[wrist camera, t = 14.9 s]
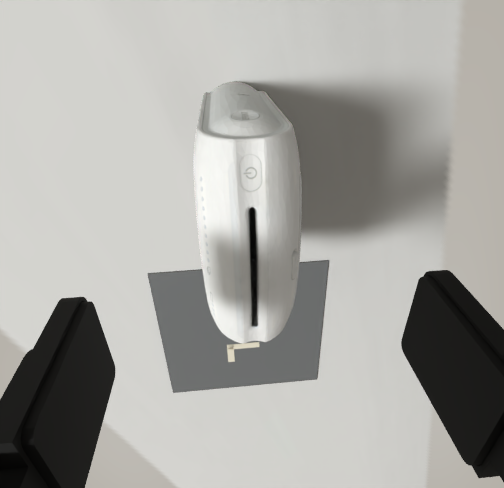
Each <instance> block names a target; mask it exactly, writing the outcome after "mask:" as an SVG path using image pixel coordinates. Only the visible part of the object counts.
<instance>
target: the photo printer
mask: <svg viewBox="0 0 504 488" xmlns="http://www.w3.org/2000/svg"><path fill="white" fill-rule="evenodd" d="M193 168H194V188H195V204H196V217H197V227H198V237H199V247H200V255H201V263H202V270H203V277H204V284H205V290H206V295H207V301H208V305H209V308H210V311H211V314H212V317H213V319H214V321H215V323H216V325H217V326H218V328H219V330H220V331H221V332H222V333H223V334H224V335H225V336H226V337H228V338H230V339H231V340H233V341H236V342H238V343H242V344H243V343H247V342H250V341H262V342H268V341H270V340H272V339H273V338H275V337H276V336H277V335H278V334H280V332H281V331H282V330H283V328H284V327H285V324H286V322H287V320H288V318H289V316H290V313H291V310H292V308H293V305H294V301H295V295H296V288H297V280H298V271H299V260H300V244H301V221H302V179H301V172H300V158H299V151H298V144H297V140H296V136H295V131H294V127H293V125H292V123H291V122H290V121H289V120H288V119H287V118H286V116H285V115H284V114H283V113H282V112H281V110H280V109H279V108H278V107H277V106H276V104H275V103H274V102H273V101H272V100H271V98H270V97H269V96H268V95H267V93H266V92H265V91H256V90H255V89H254V88H253V87H251V86H250V85H247V84H245V83H241V82H228V83H224V84H222V85H220V86H218V87H217V88H215V89H214V90H213V91H212V92H211V93H207V92H206V93H204V95H203V98H202V103H201V108H200V113H199V118H198V124H197V130H196V136H195V145H194V157H193Z"/></svg>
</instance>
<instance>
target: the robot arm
mask: <svg viewBox="0 0 504 488" xmlns="http://www.w3.org/2000/svg"><path fill="white" fill-rule="evenodd" d="M401 344H402V350H403V352H404V354H405V356H406V358H407V360H408V362H409V363H410V365H411V367H412V369H413V371H414V372H415V374H416V376H417V378H418V380H419V381H420V383H421V385H422V387H423V389H424V390H425V392H426V394H427V396H428V398H429V399H430V401H431V403H432V405H433V407H434V408H435V410H436V412H437V414H438V415H439V417H440V419H441V421H442V423H443V424H444V426H445V428H446V430H447V432H448V434H449V435H450V437H451V439H452V441H453V443H454V444H455V446H456V448H457V450H458V452H459V453H460V455H461V457H462V458H463V460H464V461H465V462H466V464H468V465H472V467H473V468H474V470H475V472H476V474H477V475H478V477H479V478H485V477H493V476H500V477H501V478H502V480H503V482H504V330H503V329H502V327H501V326H500V325H499V324H498V323H497V322H496V321H495V320H494V318H492V316H491V315H490V314H489V313H488V312H487V311H486V310H485V309H484V308H483V306H482V305H481V304H480V303H479V302H478V301H477V300H476V299H475V298H474V297H473V295H472V294H471V293H470V292H469V291H468V290H467V289H466V288H465V287H464V286H463V284H462V283H461V282H460V281H459V280H458V279H457V278H456V277H455V276H454V275H453V273H451V272H450V271H448V270H441V271H429V272H426V273H425V275H424V277H421V278H420V279H419V281H418V284H417V288H416V291H415V295H414V299H413V302H412V306H411V309H410V313H409V316H408V320H407V323H406V327H405V330H404V334H403V337H402V342H401ZM114 378H115V365H114V362H113V359H112V356H111V353H110V350H109V347H108V344H107V341H106V338H105V336H104V333H103V330H102V327H101V324H100V321H99V318H98V315H97V312H96V309H95V307H94V304H93V303H92V302H87V300H86V299H85V298H84V297H75V298H62V299H61V300H60V301H59V302H58V304H57V306H56V307H55V309H54V311H53V313H52V315H51V317H50V319H49V320H48V322H47V324H46V326H45V328H44V330H43V332H42V333H41V335H40V337H39V339H38V341H37V343H36V345H35V346H34V348H33V349H32V350H30V351H29V352H27V354H26V355H25V357H24V358H23V360H22V362H21V363H20V365H19V367H18V369H17V371H16V373H15V374H14V376H13V378H12V380H11V381H10V383H9V385H8V387H7V389H6V390H5V392H4V394H3V396H2V398H1V399H0V488H85V484H86V480H87V477H88V473H89V470H90V466H91V462H92V459H93V455H94V451H95V448H96V444H97V441H98V436H99V433H100V430H101V426H102V422H103V419H104V415H105V411H106V408H107V404H108V400H109V397H110V393H111V389H112V386H113V382H114Z"/></svg>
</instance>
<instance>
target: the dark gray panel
mask: <svg viewBox="0 0 504 488" xmlns="http://www.w3.org/2000/svg"><path fill="white" fill-rule="evenodd" d="M328 263H329V261H328V260H324V261H310V262H299V271H298V280H297V288H296V295H295V301H294V305H293V308H292V310H291V313H290V316H289V318H288V320H287V322H286V324H285V327H284V328H283V330H282V331H281V332H280V334H278V335H277V336H276V337H275V338H273V339H272V340H270V341H268V342H262V341H250V342H247V343H243V344H242V343H238V342H236V341H233V340H231V339H230V338H228V337H226V336H225V335H224V334H223V333H222V332H221V331H220V330H219V328H218V326H217V325H216V323H215V321H214V319H213V317H212V314H211V311H210V308H209V305H208V301H207V295H206V290H205V284H204V277H203V270H202V269H201V270H187V271H173V272H160V273H148V278H149V283H150V287H151V292H152V297H153V301H154V306H155V310H156V315H157V320H158V324H159V329H160V334H161V338H162V343H163V348H164V352H165V357H166V362H167V366H168V371H169V376H170V380H171V385H172V389H173V393H176V392H187V391H197V390H208V389H219V388H229V387H240V386H251V385H261V384H272V383H283V382H293V381H304V380H315V379H317V373H318V363H319V353H320V343H321V333H322V323H323V313H324V303H325V293H326V283H327V273H328Z"/></svg>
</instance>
